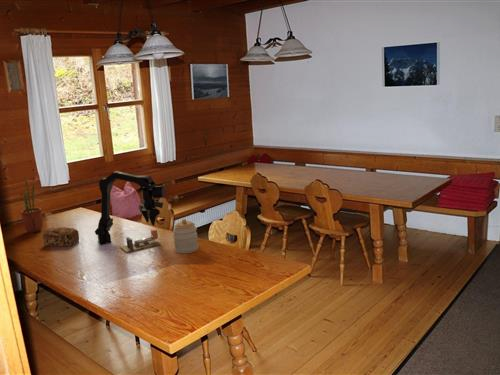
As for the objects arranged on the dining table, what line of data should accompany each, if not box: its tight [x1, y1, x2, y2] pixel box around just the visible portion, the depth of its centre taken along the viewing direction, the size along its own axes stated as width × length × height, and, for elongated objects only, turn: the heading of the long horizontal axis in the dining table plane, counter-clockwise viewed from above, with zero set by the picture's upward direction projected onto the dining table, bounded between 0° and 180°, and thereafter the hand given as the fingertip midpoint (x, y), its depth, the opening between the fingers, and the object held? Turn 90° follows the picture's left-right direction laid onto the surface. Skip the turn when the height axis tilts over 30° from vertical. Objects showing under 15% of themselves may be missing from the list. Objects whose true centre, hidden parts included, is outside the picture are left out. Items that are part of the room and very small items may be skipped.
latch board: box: [120, 236, 162, 254], centre depth 276 cm, size 20×11×6 cm, turn 122°
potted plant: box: [19, 179, 44, 234], centre depth 320 cm, size 17×16×35 cm
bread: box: [41, 226, 80, 247], centre depth 293 cm, size 19×11×10 cm, turn 79°
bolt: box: [133, 228, 159, 244], centre depth 278 cm, size 13×3×6 cm, turn 122°
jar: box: [172, 218, 199, 254], centre depth 265 cm, size 13×13×18 cm
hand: (150, 223), depth 280 cm, fingers open, 9 cm apart
